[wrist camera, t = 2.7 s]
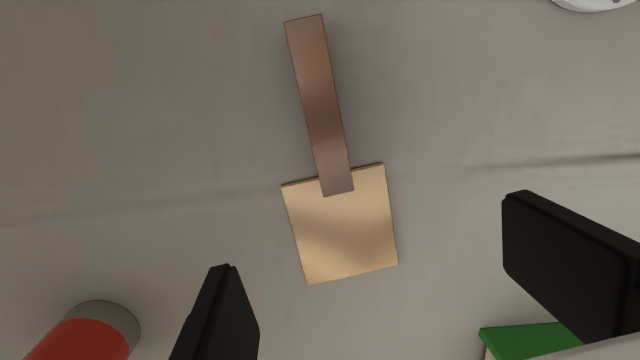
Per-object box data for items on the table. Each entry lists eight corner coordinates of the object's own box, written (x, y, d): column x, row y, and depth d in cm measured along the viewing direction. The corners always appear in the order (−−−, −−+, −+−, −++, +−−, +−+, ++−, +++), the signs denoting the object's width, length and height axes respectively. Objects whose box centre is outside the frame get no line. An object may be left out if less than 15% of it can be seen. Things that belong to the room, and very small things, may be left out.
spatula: (241, 42, 21) (227, 34, 17) (360, 15, 21) (377, 0, 17) (307, 282, 28) (310, 319, 24) (396, 261, 28) (415, 295, 24)
